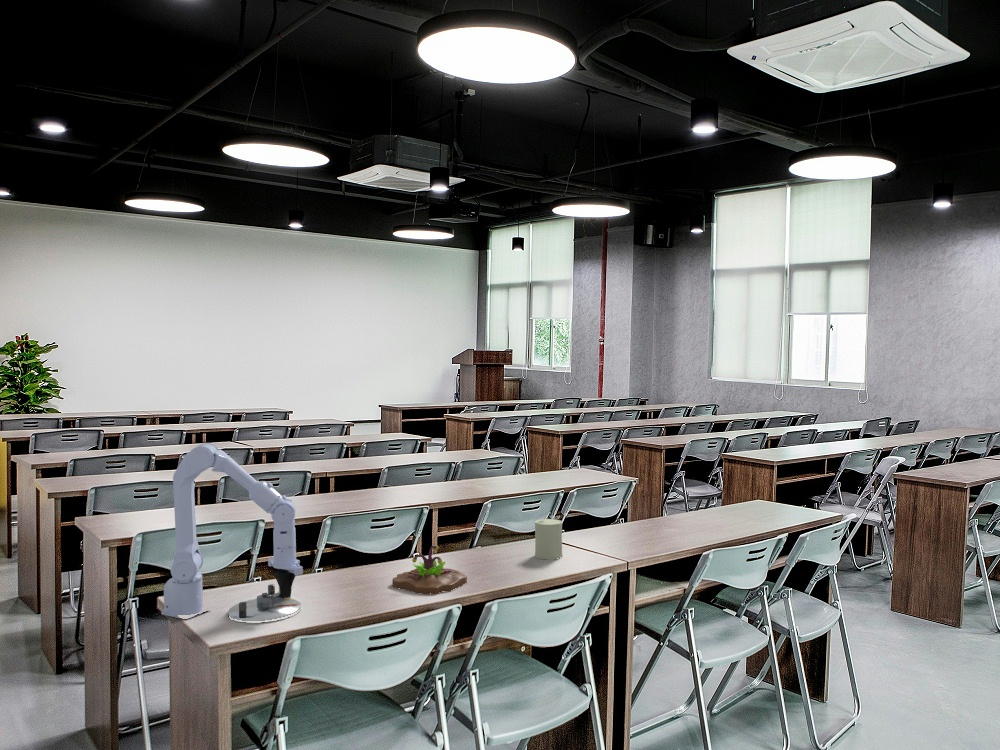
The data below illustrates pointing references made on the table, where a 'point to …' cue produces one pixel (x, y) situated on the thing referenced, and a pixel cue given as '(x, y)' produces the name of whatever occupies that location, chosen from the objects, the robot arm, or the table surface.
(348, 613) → the table surface
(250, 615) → the crank base
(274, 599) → the crank
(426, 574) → the plant
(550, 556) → the can
